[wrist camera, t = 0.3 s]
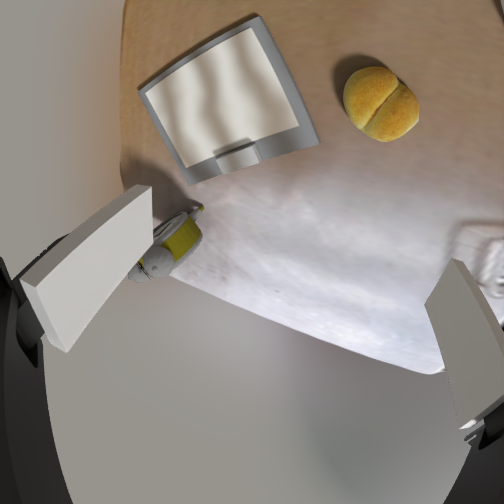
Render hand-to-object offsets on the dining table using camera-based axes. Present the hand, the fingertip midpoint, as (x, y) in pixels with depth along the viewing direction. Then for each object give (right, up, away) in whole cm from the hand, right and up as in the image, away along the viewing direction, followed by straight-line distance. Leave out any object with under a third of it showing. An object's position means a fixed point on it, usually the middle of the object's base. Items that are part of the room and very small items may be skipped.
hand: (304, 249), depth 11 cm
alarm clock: (-13, +5, +39) cm, 42 cm away
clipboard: (-6, +19, +23) cm, 31 cm away
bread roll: (+13, +17, +15) cm, 27 cm away
